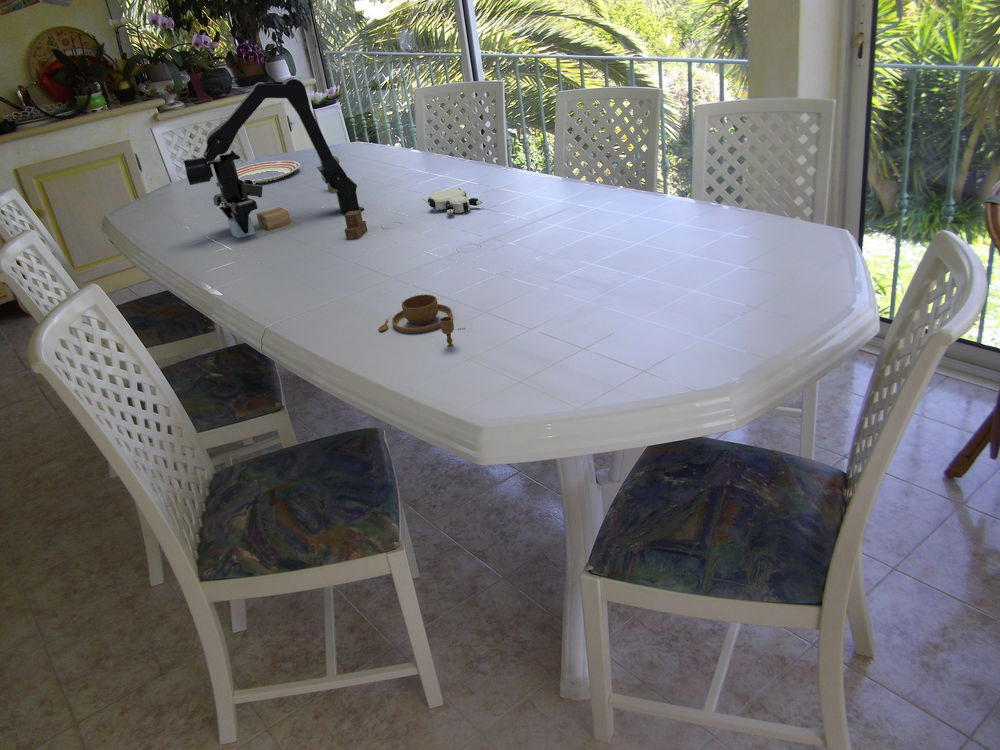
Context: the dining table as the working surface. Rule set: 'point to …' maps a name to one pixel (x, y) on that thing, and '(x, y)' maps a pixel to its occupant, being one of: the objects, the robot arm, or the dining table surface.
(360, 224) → the stack of crates
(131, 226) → the dining table surface
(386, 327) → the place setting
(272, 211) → the tan square block
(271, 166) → the dinner plate
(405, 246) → the dining table surface
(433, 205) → the robot toy
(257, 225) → the mat
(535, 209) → the dining table surface
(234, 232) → the slate block
